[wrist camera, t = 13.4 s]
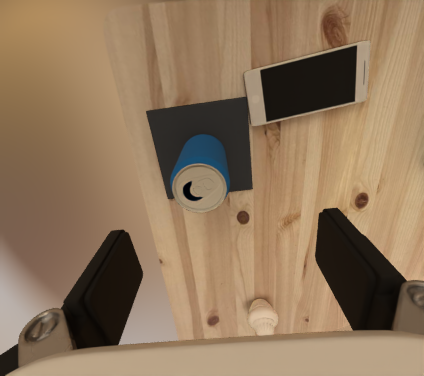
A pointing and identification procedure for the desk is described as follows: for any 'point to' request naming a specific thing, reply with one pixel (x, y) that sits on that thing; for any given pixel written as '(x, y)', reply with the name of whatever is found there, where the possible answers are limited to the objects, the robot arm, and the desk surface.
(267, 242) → the desk surface
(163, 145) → the mat
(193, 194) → the beverage can
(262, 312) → the muffin
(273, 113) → the smartphone
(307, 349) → the robot arm
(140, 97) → the desk surface
